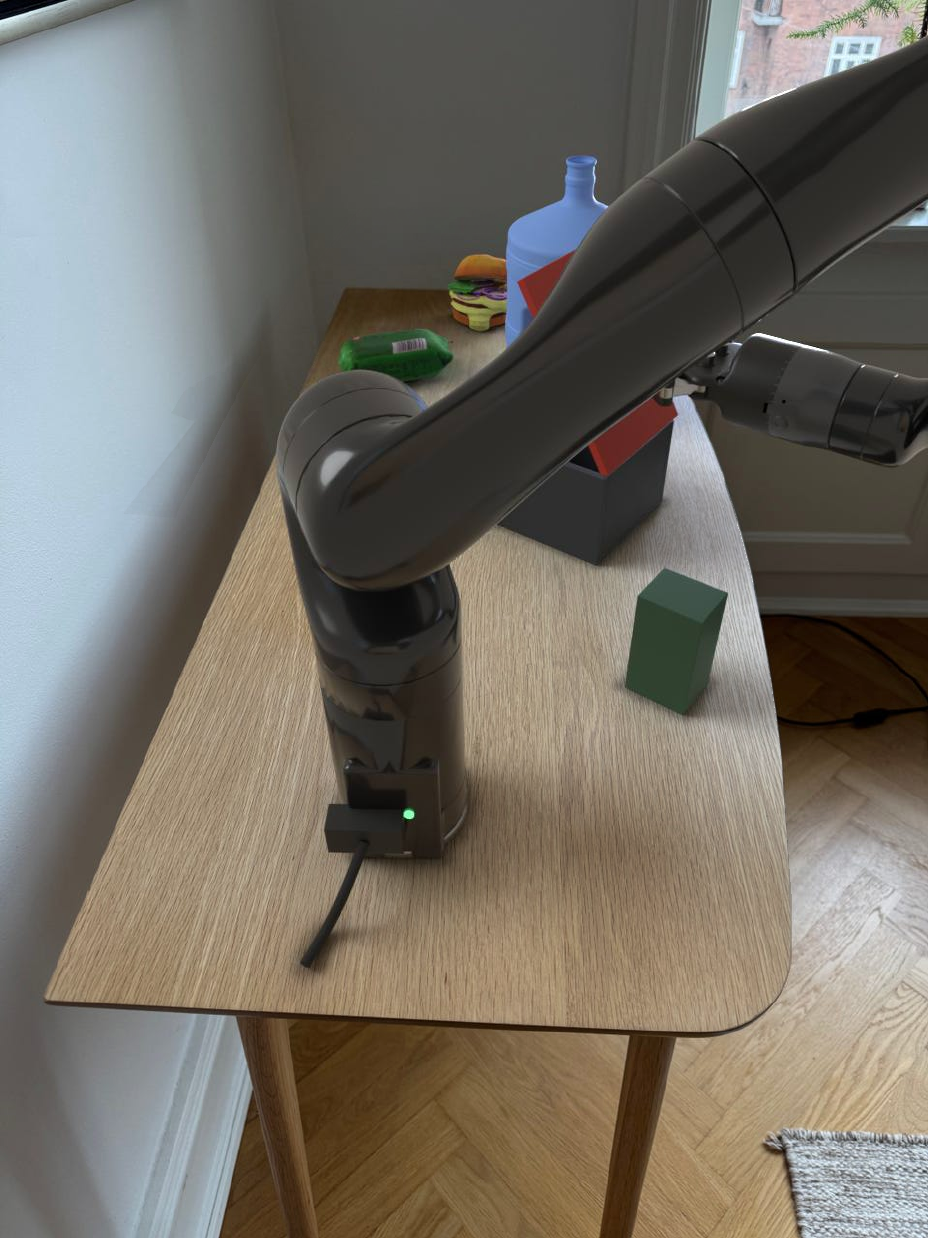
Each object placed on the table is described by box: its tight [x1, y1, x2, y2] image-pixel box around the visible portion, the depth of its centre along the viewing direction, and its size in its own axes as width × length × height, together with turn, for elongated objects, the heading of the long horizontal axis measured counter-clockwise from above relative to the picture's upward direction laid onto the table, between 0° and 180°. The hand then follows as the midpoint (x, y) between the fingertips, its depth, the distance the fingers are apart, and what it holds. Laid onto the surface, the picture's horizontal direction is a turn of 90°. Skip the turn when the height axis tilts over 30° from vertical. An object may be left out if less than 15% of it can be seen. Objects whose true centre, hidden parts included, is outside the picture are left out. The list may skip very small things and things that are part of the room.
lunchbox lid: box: [517, 249, 679, 477], centre depth 84 cm, size 18×14×1 cm
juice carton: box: [624, 567, 729, 716], centre depth 74 cm, size 4×6×10 cm
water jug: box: [504, 155, 609, 349], centre depth 106 cm, size 16×16×28 cm
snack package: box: [337, 328, 455, 383], centre depth 119 cm, size 7×16×5 cm, turn 105°
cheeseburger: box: [446, 254, 507, 332], centre depth 132 cm, size 10×11×10 cm
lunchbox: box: [497, 419, 675, 566], centre depth 94 cm, size 18×14×10 cm
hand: (608, 340), depth 83 cm, fingers closed
